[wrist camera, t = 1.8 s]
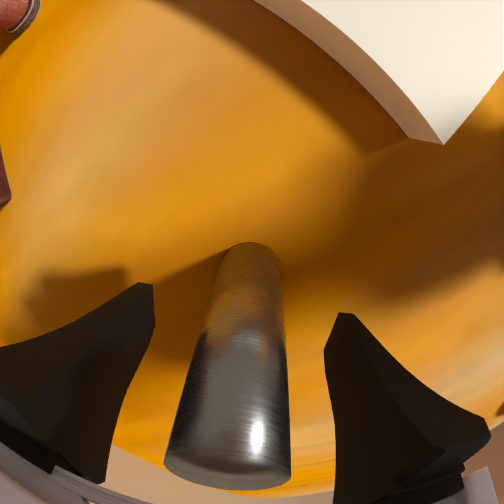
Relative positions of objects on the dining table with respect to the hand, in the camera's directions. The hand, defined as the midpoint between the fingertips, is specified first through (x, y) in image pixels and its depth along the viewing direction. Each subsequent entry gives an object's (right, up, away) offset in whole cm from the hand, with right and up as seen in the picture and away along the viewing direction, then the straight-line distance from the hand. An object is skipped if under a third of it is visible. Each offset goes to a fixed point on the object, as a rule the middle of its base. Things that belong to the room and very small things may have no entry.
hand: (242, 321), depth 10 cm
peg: (0, +2, +3) cm, 4 cm away
